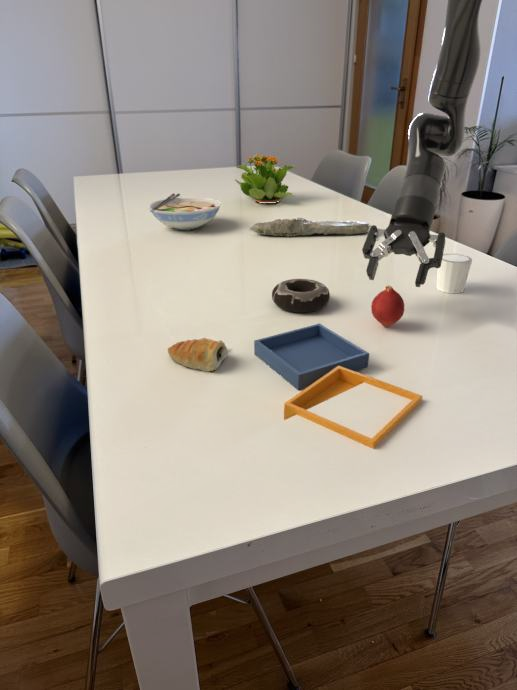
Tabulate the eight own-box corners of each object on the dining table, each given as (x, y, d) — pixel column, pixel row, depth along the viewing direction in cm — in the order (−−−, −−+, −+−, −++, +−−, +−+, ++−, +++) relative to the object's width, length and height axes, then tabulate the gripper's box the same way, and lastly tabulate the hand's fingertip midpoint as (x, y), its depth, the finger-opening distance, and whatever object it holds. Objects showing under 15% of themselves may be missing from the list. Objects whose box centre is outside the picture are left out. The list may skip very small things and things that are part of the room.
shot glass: (456, 296, 107) (462, 264, 104) (427, 288, 112) (431, 257, 109) (472, 288, 111) (478, 257, 108) (443, 281, 116) (448, 250, 113)
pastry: (161, 366, 82) (158, 344, 80) (179, 348, 88) (177, 327, 86) (215, 374, 80) (214, 352, 78) (230, 355, 85) (230, 334, 84)
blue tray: (319, 336, 91) (319, 323, 90) (368, 367, 81) (369, 353, 80) (254, 354, 85) (253, 340, 84) (298, 390, 75) (298, 375, 74)
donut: (275, 292, 111) (276, 274, 109) (330, 295, 109) (331, 277, 107) (267, 313, 100) (267, 294, 99) (327, 317, 99) (328, 297, 97)
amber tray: (337, 380, 77) (338, 365, 76) (419, 411, 70) (422, 395, 69) (283, 419, 69) (284, 403, 67) (371, 460, 61) (373, 442, 60)
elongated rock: (371, 241, 151) (364, 234, 160) (373, 222, 149) (366, 217, 158) (253, 236, 149) (252, 230, 159) (253, 218, 147) (253, 212, 156)
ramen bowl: (211, 239, 150) (209, 210, 147) (137, 236, 154) (134, 208, 150) (230, 219, 172) (229, 194, 169) (165, 217, 176) (163, 193, 172)
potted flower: (311, 204, 193) (313, 154, 185) (258, 212, 182) (257, 160, 174) (275, 194, 212) (275, 149, 204) (224, 200, 201) (222, 153, 193)
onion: (384, 317, 98) (388, 277, 95) (408, 327, 94) (414, 286, 90) (363, 325, 95) (366, 284, 92) (387, 335, 91) (392, 293, 87)
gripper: (376, 190, 97) (352, 266, 93) (454, 196, 91) (433, 277, 87) (380, 213, 103) (359, 285, 99) (454, 220, 97) (434, 296, 94)
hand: (393, 281), depth 93 cm, fingers open, 8 cm apart
